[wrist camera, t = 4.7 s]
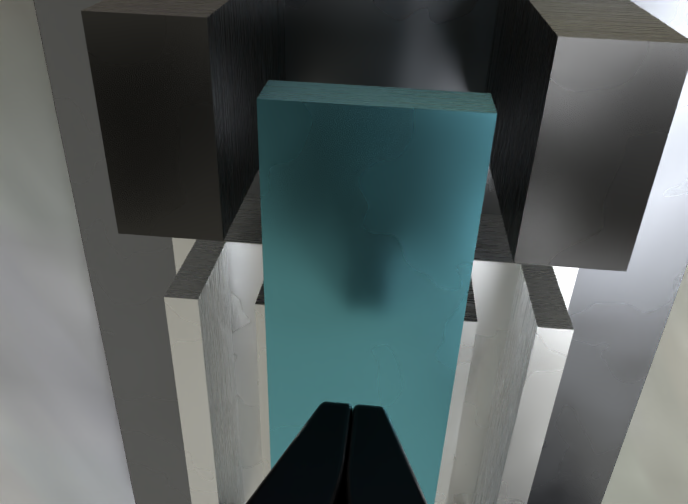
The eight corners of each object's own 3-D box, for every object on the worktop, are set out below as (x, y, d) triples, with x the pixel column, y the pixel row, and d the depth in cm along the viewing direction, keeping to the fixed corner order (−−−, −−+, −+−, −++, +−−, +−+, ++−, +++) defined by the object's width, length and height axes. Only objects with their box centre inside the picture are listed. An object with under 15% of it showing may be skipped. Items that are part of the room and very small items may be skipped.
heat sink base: (565, 533, 22) (620, 776, 16) (156, 492, 23) (68, 710, 17) (760, -59, 13) (1059, 13, 7) (53, -91, 13) (-221, -51, 8)
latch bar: (400, 676, 17) (399, 728, 16) (286, 662, 17) (278, 713, 16) (489, 88, 9) (498, 119, 8) (271, 75, 9) (253, 103, 8)
